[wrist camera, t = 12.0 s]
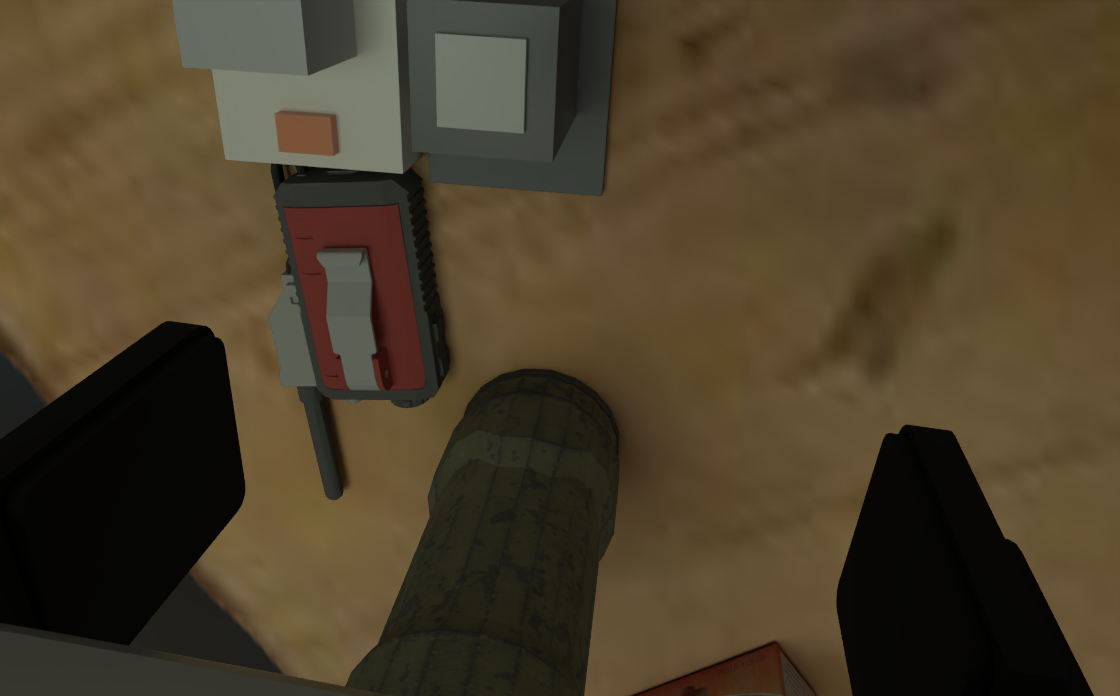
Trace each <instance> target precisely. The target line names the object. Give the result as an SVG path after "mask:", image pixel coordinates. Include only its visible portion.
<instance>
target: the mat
mask: <svg viewBox="0 0 1120 696" xmlns="http://www.w3.org/2000/svg"><path fill="white" fill-rule="evenodd" d="M616 6H617V0H583V4H582V21H581V39H580V56H579V73H578V90H577V108H576V117H575V119H574V121H573V123H572V125H571V127H570V129H569V131H568V133H567V135H566V137H565V139H564V141H563V143H562V145H561V147H560V149H559V151H558V153H557V155H556V157H555V159H554V161H553V163H548V162H535V161H523V160H511V159H498V158H486V157H474V156H461V155H449V154H437V153H429V177H430V182H434V183H446V184H459V185H471V186H483V187H496V188H508V189H520V190H533V191H545V192H557V193H570V194H582V195H595V196H602V194H603V183H604V170H605V156H606V142H607V129H608V115H609V102H610V88H611V74H612V61H613V47H614V33H615V20H616Z"/></svg>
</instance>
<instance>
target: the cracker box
mask: <svg viewBox="0 0 1120 696" xmlns="http://www.w3.org/2000/svg"><path fill="white" fill-rule="evenodd" d="M636 696H816V695H815V694H814V692H813V691H812V690H811V688H810V687H809V686H808V684H807V683H806V682H805V681H804V679H803V678H802V677H801V676H800V674H799V673H798V672H797V670H796V669H795V668H794V666H793V665H792V664H791V662H790V661H789V660H788V659H787V657H786V656H785V655H784V654H783V652H782V651H781V650H780V648H779V647H778V645H777V644H775V643H774V644H772V645H770V646H767V647H765V648H762V649H759V650H757V651H754V652H751V653H749V654H746V655H743V656H741V657H738V658H735V659H733V660H730V661H727V662H725V663H722V664H719V665H717V666H714V667H711V668H708V669H706V670H703V671H700V672H697V673H695V674H692V675H690V676H687V677H684V678H681V679H679V680H676V681H674V682H671V683H668V684H665V685H663V686H660V687H657V688H655V689H652V690H649V691H647V692H644V693H641V694H639V695H636Z"/></svg>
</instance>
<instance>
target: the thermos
mask: <svg viewBox="0 0 1120 696" xmlns="http://www.w3.org/2000/svg"><path fill="white" fill-rule="evenodd" d="M618 442H619V432H618V429H617V426H616V423H615V420H614V417H613V415H612V412H611V410H610V409H609V408H608V406H607V405H606V404H605V403H604V401H603V400H602V399H601V398H600V396H599V395H598V394H597V393H596V392H595V391H593V390H592V389H590V388H589V387H587V386H586V385H585V384H583V383H582V382H580V381H579V380H577V379H576V378H573V377H570V376H567V375H564V374H561V373H558V372H555V371H552V370H537V369H523V370H519V371H515V372H511V373H506V374H502V375H500V376H498V377H497V378H495V379H494V380H492V381H490V382H489V383H487V384H485V385H484V386H482V387H481V388H480V390H479V391H478V392H477V393H476V395H475V396H474V397H473V398H472V400H471V401H470V402H469V403H468V406H467V408H466V411H465V414H464V417H463V419H462V420H461V421H460V422H459V424H458V425H457V426H456V427H455V429H454V431H453V433H452V435H451V438H450V440H449V442H448V444H447V447H446V449H445V451H444V454H443V456H442V458H441V461H440V463H439V465H438V468H437V470H436V472H435V475H434V478H433V481H432V485H431V488H430V491H429V495H428V503H429V512H430V518H429V520H428V523H427V525H426V528H425V530H424V532H423V535H422V537H421V540H420V542H419V545H418V547H417V550H416V552H415V554H414V557H413V559H412V562H411V564H410V567H409V569H408V572H407V574H406V576H405V579H404V581H403V584H402V586H401V589H400V591H399V594H398V596H397V598H396V601H395V603H394V606H393V608H392V611H391V613H390V616H389V618H388V620H387V623H386V625H385V628H384V630H383V633H382V635H381V638H380V640H379V642H378V645H377V646H375V647H374V648H373V649H372V650H371V651H370V652H369V653H368V654H367V655H366V656H365V657H364V658H363V660H362V661H361V662H360V663H359V664H358V665H357V666H356V667H355V669H354V670H353V671H352V672H351V674H350V677H349V679H348V681H347V684H346V686H345V687H350V688H356V689H361V690H366V691H371V692H376V693H382V694H387V695H392V696H584V692H585V683H586V674H587V665H588V656H589V647H590V638H591V629H592V620H593V611H594V602H595V593H596V584H597V575H598V566H599V561H600V560H601V558H602V557H603V556H604V554H605V552H606V549H607V547H608V545H609V543H610V541H611V538H612V536H613V534H614V526H615V515H616V504H617V493H618V479H619V459H618Z"/></svg>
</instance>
